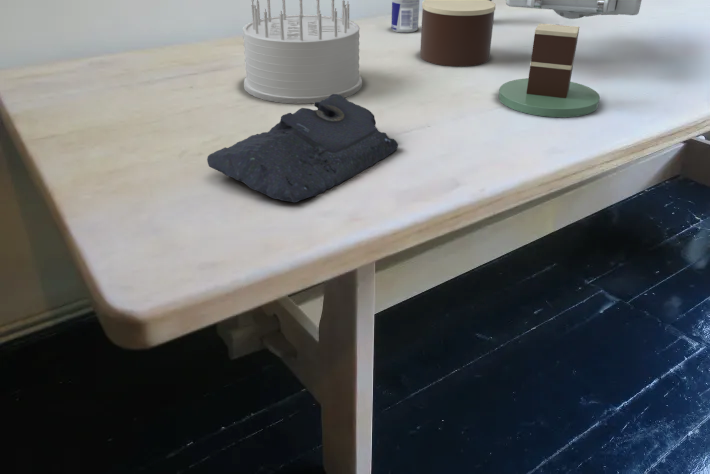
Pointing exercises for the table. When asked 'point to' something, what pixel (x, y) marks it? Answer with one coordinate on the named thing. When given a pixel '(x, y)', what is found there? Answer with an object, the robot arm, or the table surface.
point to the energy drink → (405, 15)
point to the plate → (549, 100)
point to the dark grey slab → (307, 151)
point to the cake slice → (552, 60)
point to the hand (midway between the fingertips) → (568, 5)
